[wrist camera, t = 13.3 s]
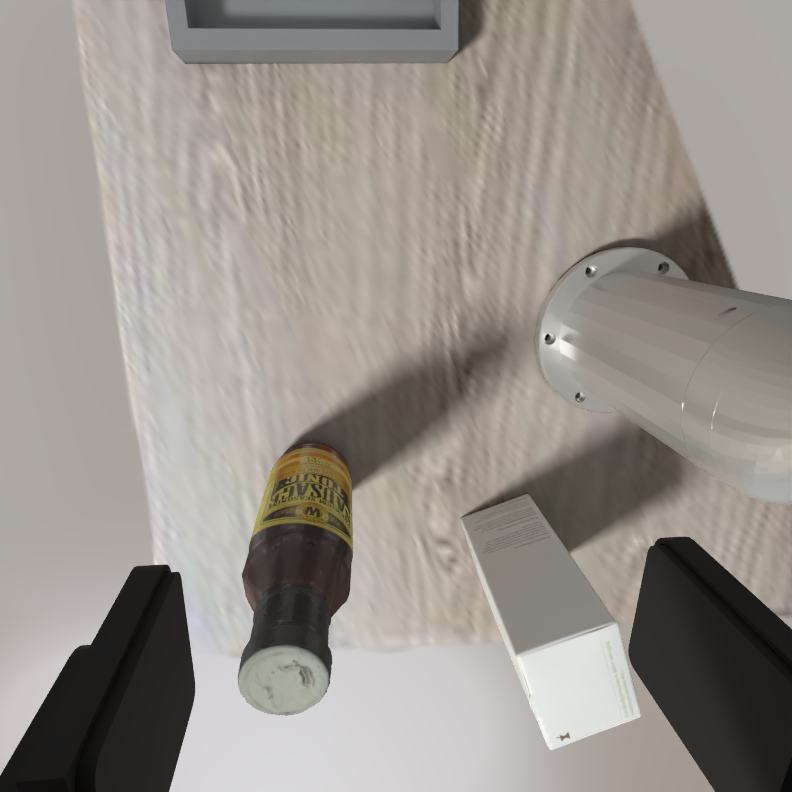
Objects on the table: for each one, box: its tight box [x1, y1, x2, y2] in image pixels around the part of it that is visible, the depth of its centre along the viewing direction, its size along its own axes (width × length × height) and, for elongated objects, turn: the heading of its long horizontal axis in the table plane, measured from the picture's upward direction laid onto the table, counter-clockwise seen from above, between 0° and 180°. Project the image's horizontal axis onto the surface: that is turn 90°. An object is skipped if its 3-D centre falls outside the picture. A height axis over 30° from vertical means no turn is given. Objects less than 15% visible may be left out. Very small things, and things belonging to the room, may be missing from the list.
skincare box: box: [461, 494, 641, 750], centre depth 39 cm, size 8×7×16 cm
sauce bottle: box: [238, 443, 353, 716], centre depth 33 cm, size 6×6×20 cm
